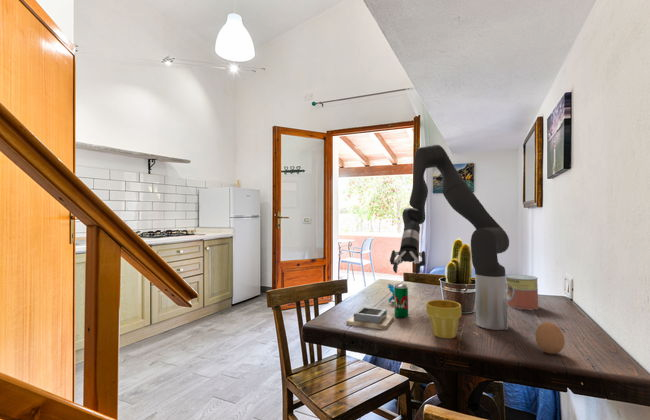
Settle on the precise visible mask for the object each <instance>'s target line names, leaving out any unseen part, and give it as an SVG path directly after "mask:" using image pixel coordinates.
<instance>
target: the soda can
mask: <svg viewBox="0 0 650 420" xmlns="http://www.w3.org/2000/svg"><path fill="white" fill-rule="evenodd" d="M393 301H394V302H393V303H394V316H395V318H398V319H407V318H409V286H408V285H407V284H406V283H395V284H394V299H393Z"/></svg>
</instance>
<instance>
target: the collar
mask: <svg viewBox="0 0 650 420" xmlns="http://www.w3.org/2000/svg"><path fill="white" fill-rule="evenodd" d="M353 315H354V321H360V322H368V323H376V324H381V322H382V321H383V320H384V319H385V318H386V317H387V315H388V311H387V309H386V308H377V307H366V306H360V308H358V309H357V310H356V311H355V312H354V313H353Z"/></svg>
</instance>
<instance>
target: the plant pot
mask: <svg viewBox="0 0 650 420" xmlns="http://www.w3.org/2000/svg"><path fill="white" fill-rule="evenodd" d="M425 303H426V305H425V306H426V314H427V315H428V316H429V321H430V324H431V328H432V333H433V335H434V336H435V337H437V338H440V339H453V338H455V337H456V336H457V332H458V327H459V321H460V318H461V317H462V313H463V312H462V304H461V303H460V302H457V301H454V300H450V299H448V300H447V299H433V300H428V301H427V302H425Z"/></svg>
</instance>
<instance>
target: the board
mask: <svg viewBox="0 0 650 420" xmlns="http://www.w3.org/2000/svg"><path fill="white" fill-rule="evenodd" d="M394 316H395V315H390V314H389V315H388V314H387V317H386V318H385V319H384V320H383V321H382V322H381V324H376V323H368V322H360V321H354V314H353V315H351V317H349V318H348V319H347V320H346V321H345V322H346V325H347V326H355V327H361V328H362V327H364V328H369V329H370V328H371V329H379V330H385V331H386V330H387V329H388V328H389V327H390V325H391V324H392V323H393V321H394V319H395V317H394Z"/></svg>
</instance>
